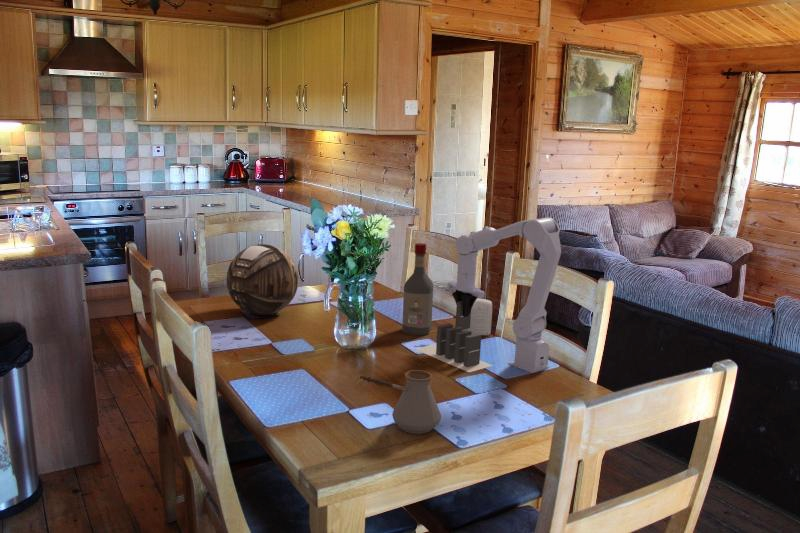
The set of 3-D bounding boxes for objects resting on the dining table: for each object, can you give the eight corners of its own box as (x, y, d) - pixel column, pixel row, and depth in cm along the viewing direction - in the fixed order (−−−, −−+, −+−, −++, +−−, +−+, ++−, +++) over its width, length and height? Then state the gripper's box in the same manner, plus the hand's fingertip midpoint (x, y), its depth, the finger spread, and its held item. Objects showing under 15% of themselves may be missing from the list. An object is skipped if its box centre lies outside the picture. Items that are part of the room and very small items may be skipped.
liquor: (428, 336, 231) (432, 247, 224) (401, 334, 232) (404, 245, 226) (431, 328, 240) (436, 242, 233) (405, 326, 241) (409, 241, 235)
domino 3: (470, 328, 221) (472, 300, 219) (458, 330, 218) (460, 302, 216) (466, 326, 222) (468, 299, 220) (455, 329, 219) (456, 301, 217)
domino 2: (460, 356, 212) (462, 327, 210) (448, 359, 209) (450, 330, 207) (456, 354, 214) (458, 326, 212) (444, 357, 210) (446, 329, 208)
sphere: (312, 312, 254) (313, 244, 249) (264, 328, 233) (264, 255, 228) (261, 300, 267) (261, 236, 261) (211, 315, 246) (210, 245, 241)
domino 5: (479, 364, 206) (481, 334, 204) (467, 367, 203) (469, 337, 201) (475, 362, 208) (477, 333, 206) (463, 365, 204) (465, 336, 202)
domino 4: (469, 360, 209) (471, 331, 207) (457, 363, 206) (459, 334, 204) (466, 358, 211) (467, 329, 209) (454, 361, 207) (455, 332, 205)
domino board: (493, 366, 206) (493, 365, 205) (469, 373, 199) (469, 372, 199) (438, 344, 224) (438, 343, 223) (414, 350, 217) (414, 349, 217)
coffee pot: (424, 413, 172) (426, 355, 168) (450, 431, 162) (453, 370, 159) (345, 429, 161) (346, 367, 158) (368, 450, 151) (370, 385, 148)
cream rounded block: (488, 332, 238) (491, 297, 236) (492, 336, 234) (494, 300, 232) (459, 332, 237) (461, 297, 234) (462, 336, 233) (464, 300, 230)
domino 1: (451, 352, 215) (453, 324, 213) (439, 355, 212) (441, 327, 210) (447, 351, 217) (449, 323, 215) (435, 354, 213) (437, 325, 211)
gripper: (492, 276, 214) (489, 319, 216) (459, 267, 224) (456, 307, 227) (476, 279, 209) (473, 322, 212) (443, 269, 220) (441, 311, 223)
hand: (463, 315), depth 219 cm, fingers closed on domino 3, 2 cm apart
